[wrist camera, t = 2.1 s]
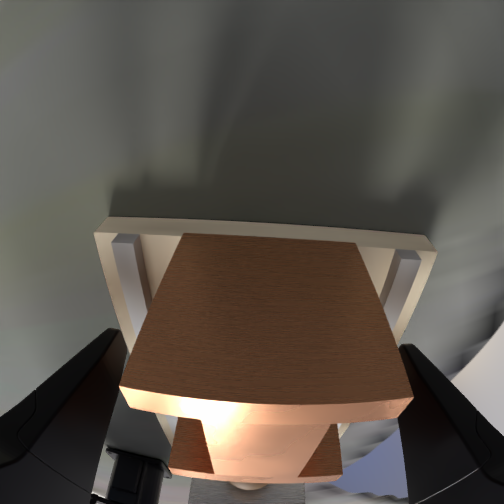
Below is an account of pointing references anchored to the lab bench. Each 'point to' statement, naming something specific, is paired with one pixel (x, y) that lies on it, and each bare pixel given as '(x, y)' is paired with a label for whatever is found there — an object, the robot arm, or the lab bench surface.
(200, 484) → the brushed steel block
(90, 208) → the lab bench surface
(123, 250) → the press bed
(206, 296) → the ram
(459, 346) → the lab bench surface
